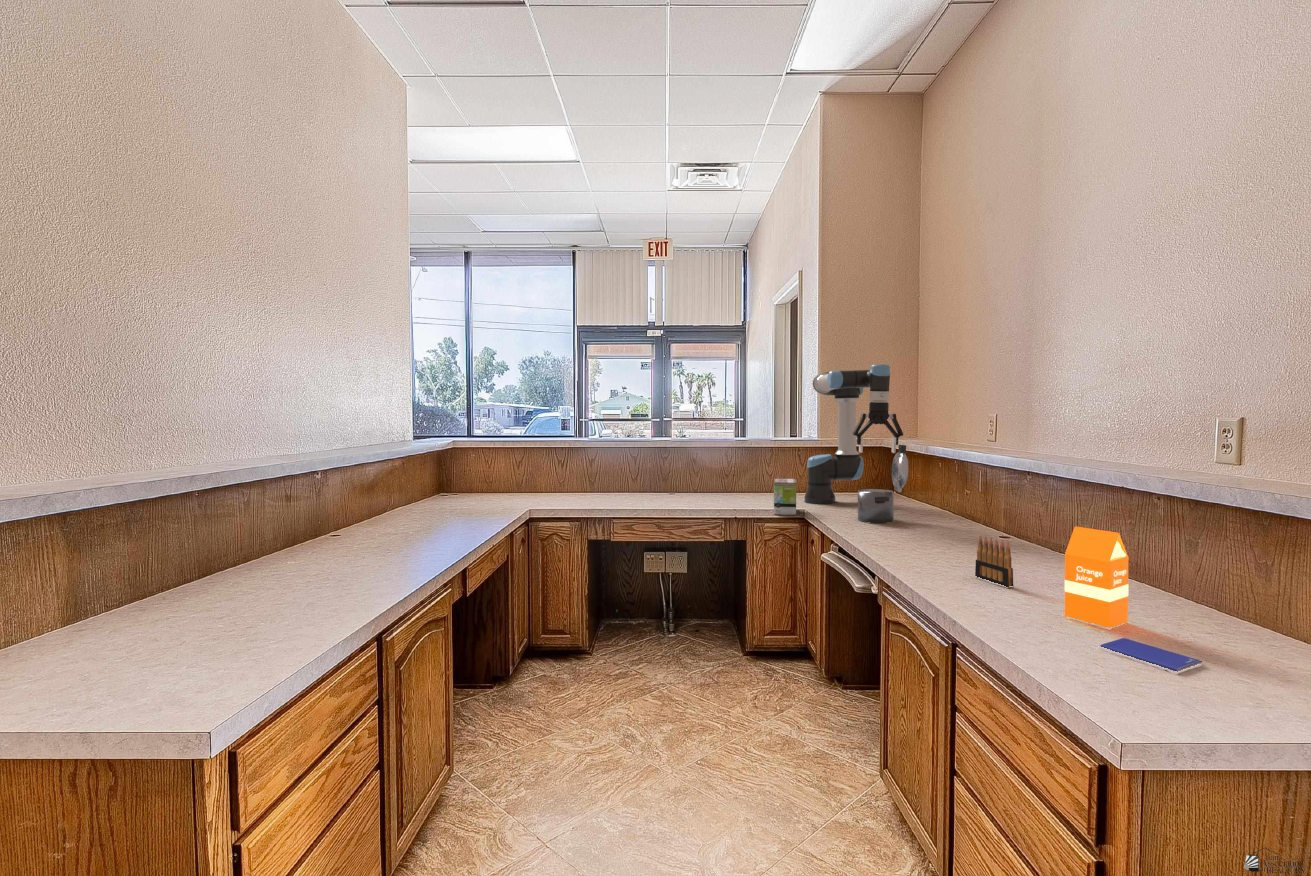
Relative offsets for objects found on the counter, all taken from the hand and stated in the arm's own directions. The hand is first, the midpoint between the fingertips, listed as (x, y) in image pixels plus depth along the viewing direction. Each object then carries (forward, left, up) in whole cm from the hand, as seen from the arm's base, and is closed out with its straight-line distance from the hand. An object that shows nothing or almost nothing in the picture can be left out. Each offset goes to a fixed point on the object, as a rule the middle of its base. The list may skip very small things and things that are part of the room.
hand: (877, 452), depth 251 cm
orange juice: (+122, +8, -28) cm, 125 cm away
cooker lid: (+3, +8, -6) cm, 10 cm away
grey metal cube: (+3, -2, -28) cm, 28 cm away
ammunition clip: (+93, +1, -28) cm, 97 cm away
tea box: (-20, -35, -28) cm, 49 cm away
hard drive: (+141, +5, -29) cm, 144 cm away
